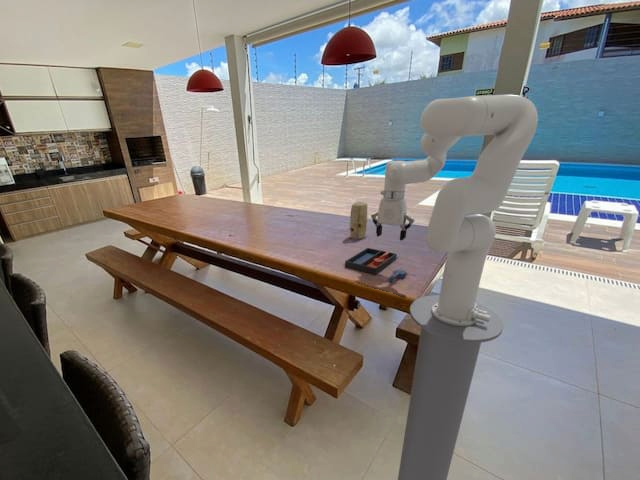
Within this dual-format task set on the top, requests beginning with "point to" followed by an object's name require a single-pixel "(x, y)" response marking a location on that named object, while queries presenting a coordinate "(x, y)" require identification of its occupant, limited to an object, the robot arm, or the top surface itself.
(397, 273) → the blue spoon
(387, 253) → the terracotta spoon
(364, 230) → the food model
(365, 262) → the sorting tray
